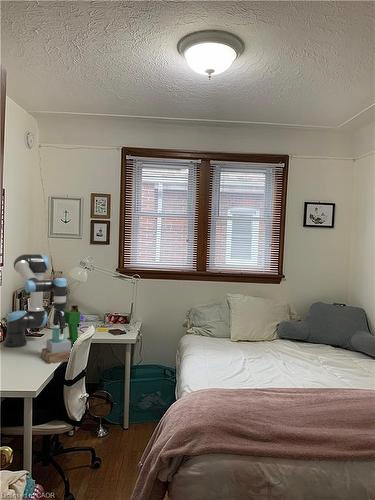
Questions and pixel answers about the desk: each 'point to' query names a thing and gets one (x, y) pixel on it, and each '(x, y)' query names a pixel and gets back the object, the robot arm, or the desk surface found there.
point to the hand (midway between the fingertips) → (58, 337)
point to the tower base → (55, 356)
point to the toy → (72, 323)
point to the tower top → (58, 346)
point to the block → (57, 335)
